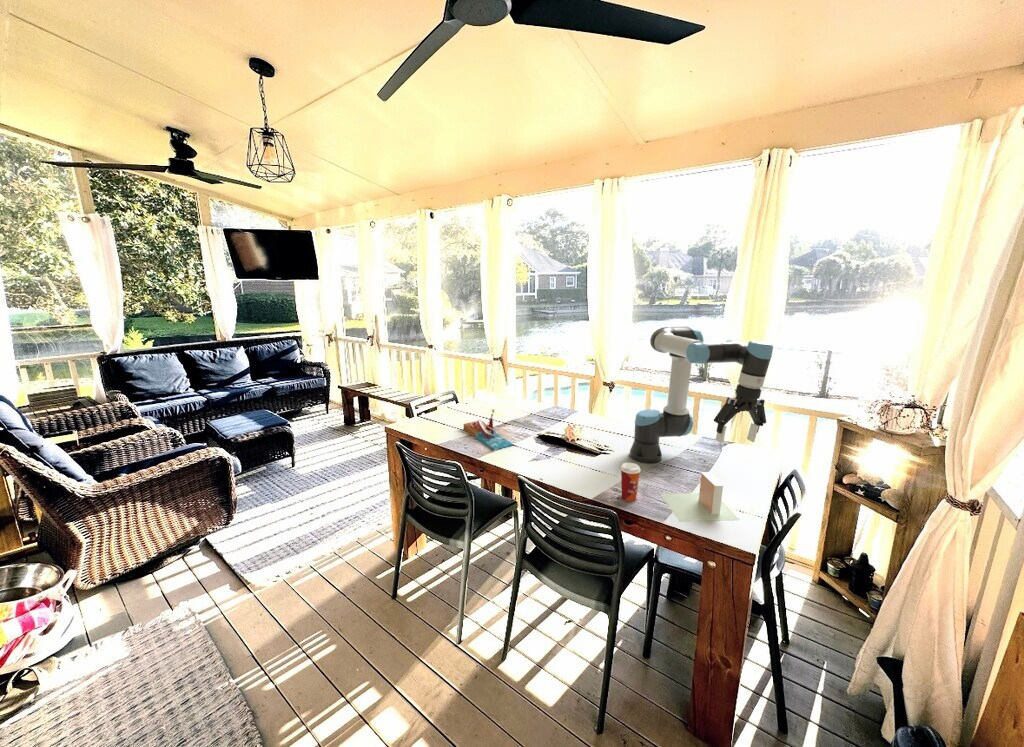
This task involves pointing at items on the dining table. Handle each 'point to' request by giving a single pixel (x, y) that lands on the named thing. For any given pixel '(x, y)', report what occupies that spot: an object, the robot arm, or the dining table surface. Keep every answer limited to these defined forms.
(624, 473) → the paper cup
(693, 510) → the rubber mat
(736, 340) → the robot arm
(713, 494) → the pale orange box
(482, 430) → the sailboat model
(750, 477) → the dining table surface
